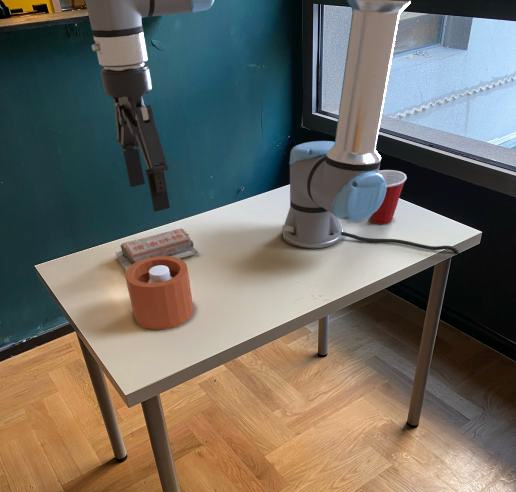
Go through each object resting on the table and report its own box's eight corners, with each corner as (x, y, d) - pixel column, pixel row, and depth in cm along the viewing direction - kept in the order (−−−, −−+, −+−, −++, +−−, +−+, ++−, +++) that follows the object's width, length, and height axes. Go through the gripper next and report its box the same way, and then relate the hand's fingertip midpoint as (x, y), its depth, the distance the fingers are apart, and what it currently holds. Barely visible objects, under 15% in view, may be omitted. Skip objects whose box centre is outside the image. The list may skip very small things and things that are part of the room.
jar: (198, 297, 111) (193, 256, 105) (186, 330, 102) (179, 287, 96) (144, 296, 113) (135, 255, 107) (127, 328, 103) (116, 286, 97)
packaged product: (180, 222, 131) (196, 237, 124) (182, 240, 134) (198, 255, 127) (111, 240, 124) (124, 257, 117) (115, 258, 127) (128, 275, 120)
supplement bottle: (151, 306, 108) (143, 266, 102) (176, 301, 109) (170, 261, 103) (154, 320, 104) (146, 279, 98) (181, 315, 105) (174, 274, 99)
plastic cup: (355, 213, 143) (359, 170, 135) (393, 210, 143) (399, 167, 136) (365, 230, 134) (369, 185, 127) (405, 227, 135) (412, 182, 127)
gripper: (81, 58, 87) (110, 180, 101) (123, 82, 70) (151, 226, 83) (124, 52, 90) (146, 172, 103) (175, 74, 72) (194, 215, 86)
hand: (149, 196), depth 93 cm, fingers open, 13 cm apart
